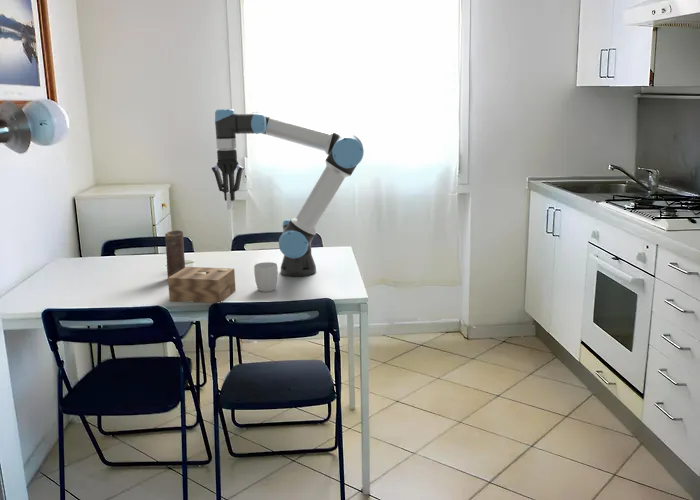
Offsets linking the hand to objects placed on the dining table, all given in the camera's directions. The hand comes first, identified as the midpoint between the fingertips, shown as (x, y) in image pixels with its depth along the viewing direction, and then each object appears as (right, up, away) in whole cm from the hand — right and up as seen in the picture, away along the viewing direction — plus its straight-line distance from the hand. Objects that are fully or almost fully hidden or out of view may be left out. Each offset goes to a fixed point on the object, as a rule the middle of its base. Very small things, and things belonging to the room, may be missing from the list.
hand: (230, 208), depth 270 cm
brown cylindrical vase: (-25, -29, +13) cm, 40 cm away
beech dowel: (-9, -34, -11) cm, 37 cm away
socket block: (-8, -34, -11) cm, 37 cm away
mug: (+15, -32, -3) cm, 35 cm away
